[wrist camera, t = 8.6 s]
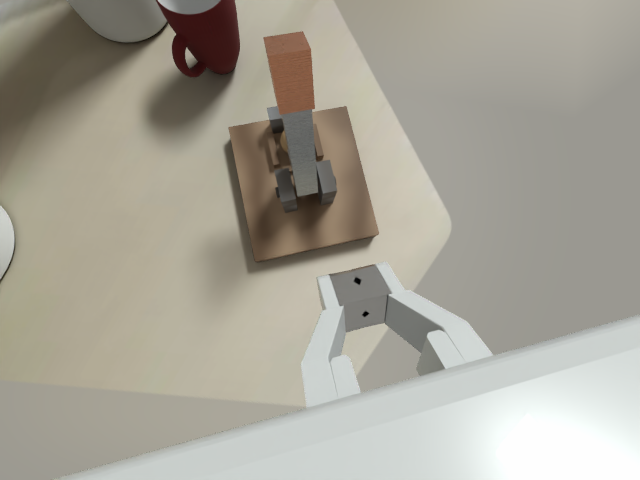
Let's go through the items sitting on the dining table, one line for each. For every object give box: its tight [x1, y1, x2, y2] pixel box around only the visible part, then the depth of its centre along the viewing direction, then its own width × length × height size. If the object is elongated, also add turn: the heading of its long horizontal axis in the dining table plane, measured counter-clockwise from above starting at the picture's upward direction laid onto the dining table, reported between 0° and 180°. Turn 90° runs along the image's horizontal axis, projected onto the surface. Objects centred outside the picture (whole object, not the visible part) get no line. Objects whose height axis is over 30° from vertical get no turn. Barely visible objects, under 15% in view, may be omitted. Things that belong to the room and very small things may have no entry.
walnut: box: [280, 131, 288, 154], centre depth 31 cm, size 4×4×4 cm
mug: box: [156, 0, 240, 77], centre depth 30 cm, size 11×8×10 cm
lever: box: [263, 31, 318, 197], centre depth 23 cm, size 3×5×14 cm, turn 13°
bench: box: [229, 106, 379, 262], centre depth 30 cm, size 16×18×7 cm
